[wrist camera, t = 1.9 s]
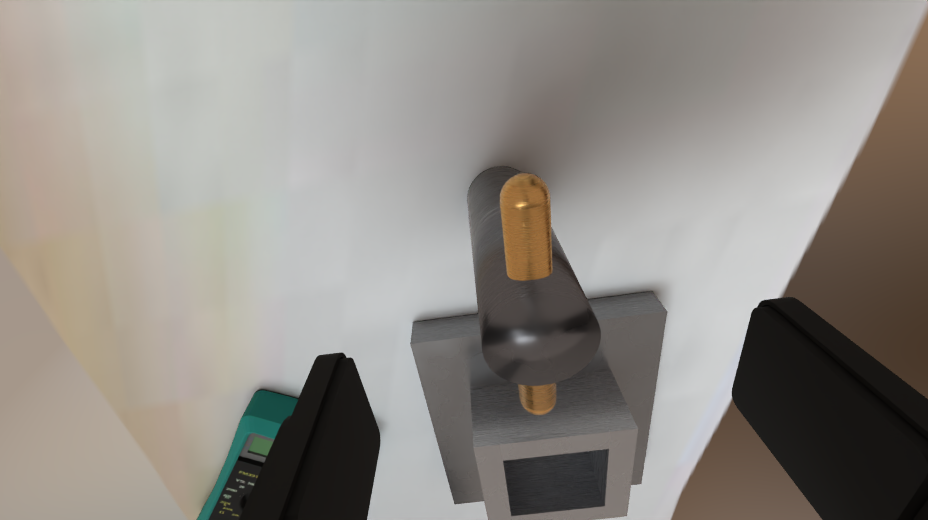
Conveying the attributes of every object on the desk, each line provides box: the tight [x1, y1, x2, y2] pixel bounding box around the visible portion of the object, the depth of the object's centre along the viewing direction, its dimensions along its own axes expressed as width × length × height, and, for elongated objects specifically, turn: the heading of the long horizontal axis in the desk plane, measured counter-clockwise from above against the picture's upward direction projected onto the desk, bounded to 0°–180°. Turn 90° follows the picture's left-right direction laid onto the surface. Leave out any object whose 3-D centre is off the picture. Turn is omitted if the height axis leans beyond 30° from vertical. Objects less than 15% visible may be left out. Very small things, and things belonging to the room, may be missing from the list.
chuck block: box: [410, 291, 667, 520], centre depth 22 cm, size 16×12×5 cm
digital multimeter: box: [197, 390, 298, 520], centre depth 26 cm, size 7×15×3 cm, turn 150°
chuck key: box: [467, 167, 601, 415], centre depth 13 cm, size 8×3×9 cm, turn 8°
